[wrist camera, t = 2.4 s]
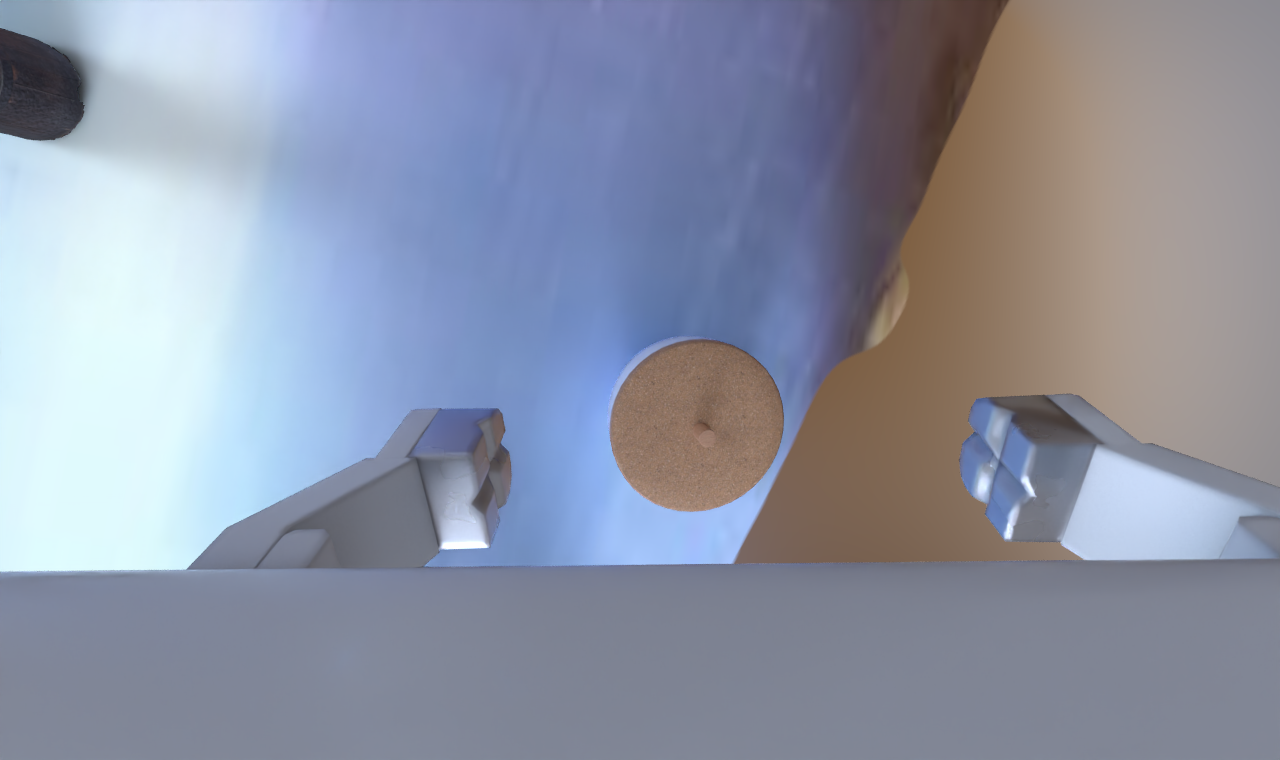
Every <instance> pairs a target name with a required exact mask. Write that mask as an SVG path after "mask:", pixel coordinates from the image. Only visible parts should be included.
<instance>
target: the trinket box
mask: <svg viewBox="0 0 1280 760" xmlns="http://www.w3.org/2000/svg"><path fill="white" fill-rule="evenodd" d="M783 423H784V414H783V406H782V401H781V397H780V394H779V391H778V389H777V386H776V384H775V382H774V380H773V378H772V377H771V376H770V374H769V373H768V371H767V370H766V369H765V368H764V367H763V366H762V365H761V364H760V363H759V362H758V361H757V360H756V359H755V358H754V357H752V356H751V355H749V354H748V353H747V352H745V351H743V350H741V349H739V348H737V347H735V346H733V345H731V344H727V343H724V342H720V341H717V340H714V339H710V338H706V337H698V336H677V337H672V338H667V339H664V340H662V341H659V342H656V343H654V344H652V345H650V346H648V347H646V348H645V349H643V350H642V351H640V352H639V353H638V354H636V355H635V356H634V357H633V358H632V359H631V360H630V361H629V362H628V363H627V364H626V366H625V367H624V368H623V370H622V371H621V373H620V374H619V376H618V378H617V380H616V382H615V384H614V386H613V389H612V392H611V396H610V399H609V407H608V429H609V434H610V441H611V446H612V451H613V454H614V457H615V460H616V462H617V465H618V467H619V469H620V471H621V472H622V474H623V476H624V478H625V479H626V480H627V481H628V483H629V484H630V485H631V486H632V487H633V489H635V490H636V491H637V492H638V493H639V494H640V495H642V496H643V497H644V498H646V499H648V500H649V501H651V502H653V503H654V504H657V505H660V506H662V507H665V508H668V509H673V510H677V511H689V512H694V511H705V510H709V509H713V508H717V507H720V506H723V505H725V504H728V503H730V502H732V501H734V500H735V499H737V498H739V497H741V496H742V495H744V494H745V493H746V492H747V491H749V490H750V489H751V488H753V487H754V486H755V485H756V483H757V482H758V481H759V480H760V479H761V478H762V477H763V476H764V474H765V473H766V472H767V470H768V469H769V468H770V466H771V464H772V462H773V460H774V458H775V456H776V454H777V451H778V449H779V446H780V443H781V438H782V433H783Z"/></svg>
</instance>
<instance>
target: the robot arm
mask: <svg viewBox="0 0 1280 760" xmlns="http://www.w3.org/2000/svg"><path fill="white" fill-rule="evenodd" d="M968 422H969V423H970V425H971V427H972V428H973V430H974V433H973V434H972V435H971V436H970V437H969V438H968V439H966V440H965V441H964V443H963V444H962V449H961V454H960V459H959V462H960V471H961V477H962V480H963V482H964V485H965V487H966V488H967V490H968V491H969V493H970V494H971V495H972V497H974V498H976V499H978V500H980V501H982V502H983V503H985V504H987V508H986V512H985V515H986V516H987V517H988V519H989V520H990V521H991V523H992V524H993V525H994V527H995V528H996V529H997V531H998V532H999V533H1000V535H1001V536H1002V537H1003V539H1004V540H1005V541H1011V542H1018V541H1019V542H1062V543H1061V545H1063V546H1064V547H1066V548H1067V549H1069V550H1071V551H1072V552H1073V553H1075V554H1077V555H1078V556H1080V557H1081V558H1083V559H1084V560H1062V561H1061V560H1054V561H970V562H969V561H967V562H966V561H964V562H962V561H961V562H873V563H871V562H869V563H779V564H777V563H775V564H681V565H587V566H493V567H423V566H424V565H425V564H427V563H428V562H429V561H430V560H431V559H432V558H433V557H435V556H436V555H437V554H438V553H439V550H441V549H466V548H490V546H491V544H492V541H493V538H494V535H495V533H496V530H497V527H498V525H499V522H500V518H499V513H498V509H499V508H501V507H502V506H503V505H505V504H506V502H507V499H508V496H509V493H510V485H511V461H510V455H509V451H508V450H507V449H506V448H505V447H504V446H503V445H502V444H501V443H500V442H501V440H502V438H503V435H504V433H505V426H504V421H503V416H502V413H501V412H500V410H499V409H498V408H473V409H441V408H432V409H415V410H411V411H410V412H409V413H408V415H407V416H406V417H405V419H404V420H403V421H402V423H401V424H400V425H399V427H398V428H397V429H396V431H395V432H394V433H393V435H392V436H391V437H390V439H389V440H388V441H387V443H386V444H385V445H384V447H383V448H382V449H381V451H380V452H379V453H378V455H377V456H376V457H375V458H366V459H364V460H362V461H360V462H358V463H356V464H354V465H352V466H350V467H348V468H346V469H344V470H342V471H340V472H338V473H336V474H334V475H332V476H330V477H328V478H326V479H324V480H322V481H320V482H318V483H316V484H314V485H312V486H310V487H308V488H306V489H304V490H302V491H300V492H298V493H296V494H294V495H292V496H290V497H288V498H286V499H284V500H282V501H280V502H278V503H276V504H274V505H272V506H270V507H268V508H266V509H264V510H262V511H260V512H258V513H256V514H254V515H251V516H249V517H247V518H245V519H243V520H241V521H239V522H237V523H235V524H233V525H231V526H229V527H227V528H226V529H225V530H224V531H223V532H222V533H221V534H220V535H219V536H218V537H217V538H216V539H215V540H214V541H213V542H212V543H211V544H210V545H209V546H208V548H207V549H206V550H205V551H204V552H203V553H202V554H201V555H200V556H199V557H198V558H197V559H196V560H195V561H194V562H193V563H192V564H191V565H190V566H189V567H188V568H187V569H186V570H111V571H15V572H0V760H1280V487H1277V486H1274V485H1272V484H1269V483H1266V482H1263V481H1260V480H1257V479H1254V478H1251V477H1248V476H1245V475H1242V474H1240V473H1237V472H1234V471H1231V470H1228V469H1225V468H1222V467H1219V466H1216V465H1214V464H1211V463H1208V462H1204V461H1202V460H1199V459H1196V458H1193V457H1190V456H1187V455H1184V454H1181V453H1179V452H1175V451H1173V450H1170V449H1167V448H1164V447H1161V446H1158V445H1155V444H1152V443H1148V444H1142V443H1140V442H1139V441H1138V440H1137V439H1135V438H1134V437H1133V436H1131V435H1130V434H1129V433H1127V432H1126V431H1125V430H1123V429H1122V428H1121V427H1120V426H1118V425H1117V424H1115V423H1114V422H1113V421H1112V420H1110V419H1109V418H1108V417H1106V416H1105V415H1104V414H1103V413H1101V412H1100V411H1099V410H1097V409H1096V408H1095V407H1093V406H1092V405H1091V404H1089V403H1088V402H1087V401H1086V400H1084V399H1083V398H1082V397H1080V396H1078V395H1073V394H1056V395H1031V396H1010V397H989V398H980V399H976V401H975V402H974V404H973V406H972V407H971V411H970V414H969V418H968Z"/></svg>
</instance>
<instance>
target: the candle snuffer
mask: <svg viewBox="0 0 1280 760" xmlns="http://www.w3.org/2000/svg"><path fill="white" fill-rule="evenodd" d="M79 78H80V77H79V75H78V73H77V72H76V71H75V70H74V68H73V66H72V65H71V64H70V61H69V59H68V58H67V57H66V56H65V55H64V54H61V53H60V52H58V51H57V50H55V48H53V47H52V48H51V47H50V46H49V45H48V44H45V43H43V42H41V41H39V40H37V39H34V38H31V37H28V36H24V35H21V34H18V33H15V32H12V31H8V30H5V29H2V28H0V132H1V133H4V134H9V135H13V136H17V137H20V138H24V139H31V140H40V141H41V140H50V139H51V140H52V139H53V140H55V139H56V138H60V137H63V136H65V135H68V133H70V132H71V131H72V130H73V128H75V127H76V125H77V124H78V122H79V121H81V119H82V117H83V113H84V110H83V109H84V106H85V105H83V102H80V100H79V93H78V90H77V88H78V87H79V86H80V85H81V80H80V79H79Z"/></svg>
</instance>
